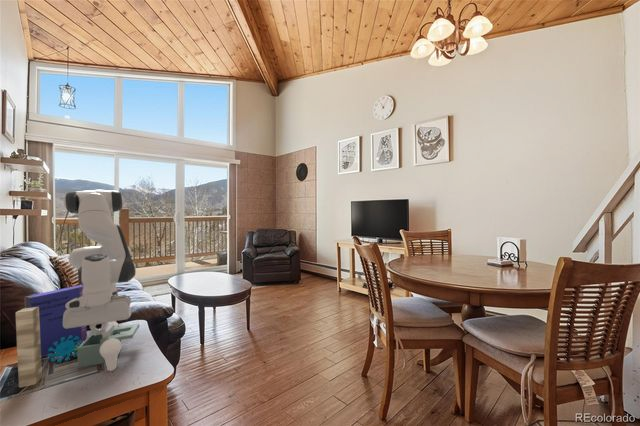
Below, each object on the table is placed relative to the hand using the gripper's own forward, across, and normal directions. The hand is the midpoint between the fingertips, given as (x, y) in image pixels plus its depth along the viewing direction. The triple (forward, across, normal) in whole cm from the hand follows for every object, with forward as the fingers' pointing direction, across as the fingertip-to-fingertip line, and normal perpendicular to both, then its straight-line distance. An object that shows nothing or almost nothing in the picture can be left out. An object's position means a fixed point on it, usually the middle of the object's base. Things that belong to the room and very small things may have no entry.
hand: (99, 334), depth 105 cm
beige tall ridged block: (+9, +16, +8) cm, 20 cm away
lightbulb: (+9, -7, +12) cm, 17 cm away
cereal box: (+9, +20, -19) cm, 29 cm away
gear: (+9, +12, -7) cm, 17 cm away
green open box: (+9, 0, -2) cm, 9 cm away
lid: (+2, -6, -2) cm, 7 cm away
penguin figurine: (+9, 0, -15) cm, 18 cm away
